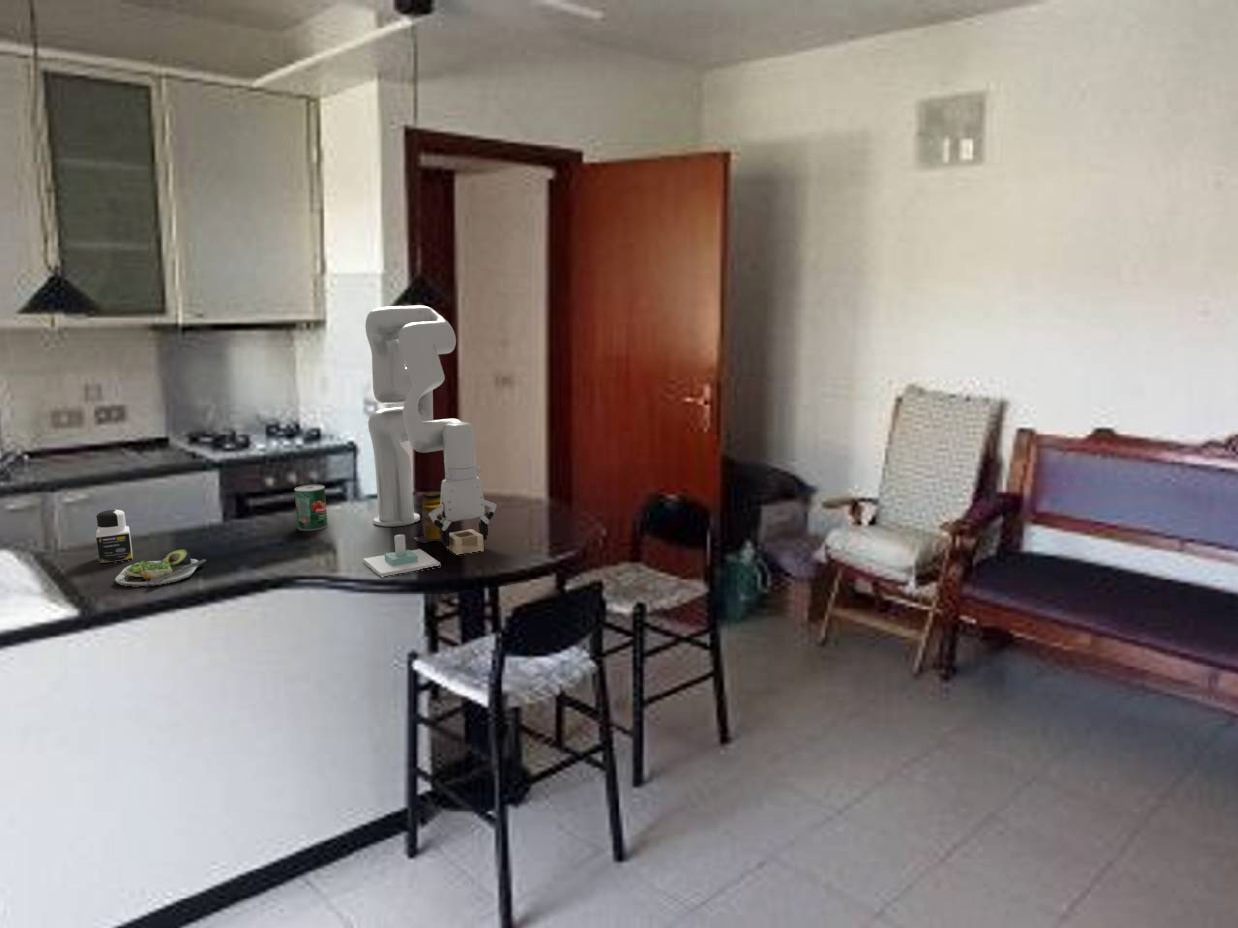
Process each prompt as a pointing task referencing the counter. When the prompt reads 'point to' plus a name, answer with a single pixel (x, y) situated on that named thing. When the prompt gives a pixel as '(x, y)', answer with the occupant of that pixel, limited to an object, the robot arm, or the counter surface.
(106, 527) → the medicine bottle
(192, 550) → the counter surface
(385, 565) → the post block
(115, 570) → the counter surface
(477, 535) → the collar
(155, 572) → the salad plate
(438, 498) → the condiment
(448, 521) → the robot arm
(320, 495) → the canned tomato
